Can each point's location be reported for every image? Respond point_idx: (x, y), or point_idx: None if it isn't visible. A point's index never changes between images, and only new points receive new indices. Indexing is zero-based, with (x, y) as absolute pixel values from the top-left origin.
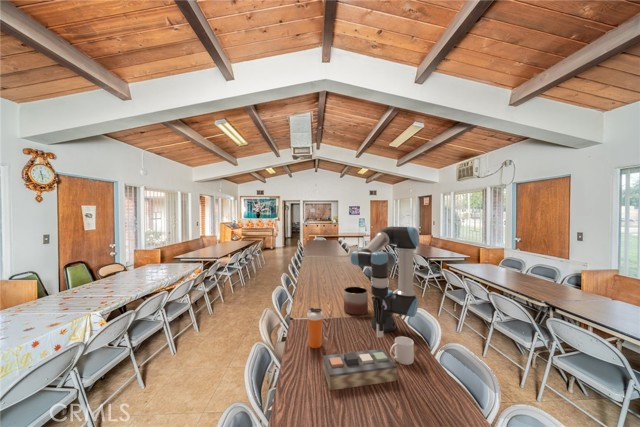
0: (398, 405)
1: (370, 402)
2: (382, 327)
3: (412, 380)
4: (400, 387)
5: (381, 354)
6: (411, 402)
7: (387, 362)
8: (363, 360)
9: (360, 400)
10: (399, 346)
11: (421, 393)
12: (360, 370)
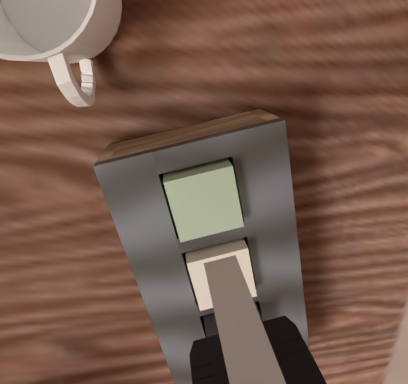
0: (391, 140)
1: (359, 232)
2: (313, 362)
3: (261, 20)
4: (303, 102)
5: (194, 195)
6: (389, 82)
7: (249, 166)
8: (252, 292)
9: (345, 260)
10: (85, 36)
11: (352, 10)
12: (302, 297)
